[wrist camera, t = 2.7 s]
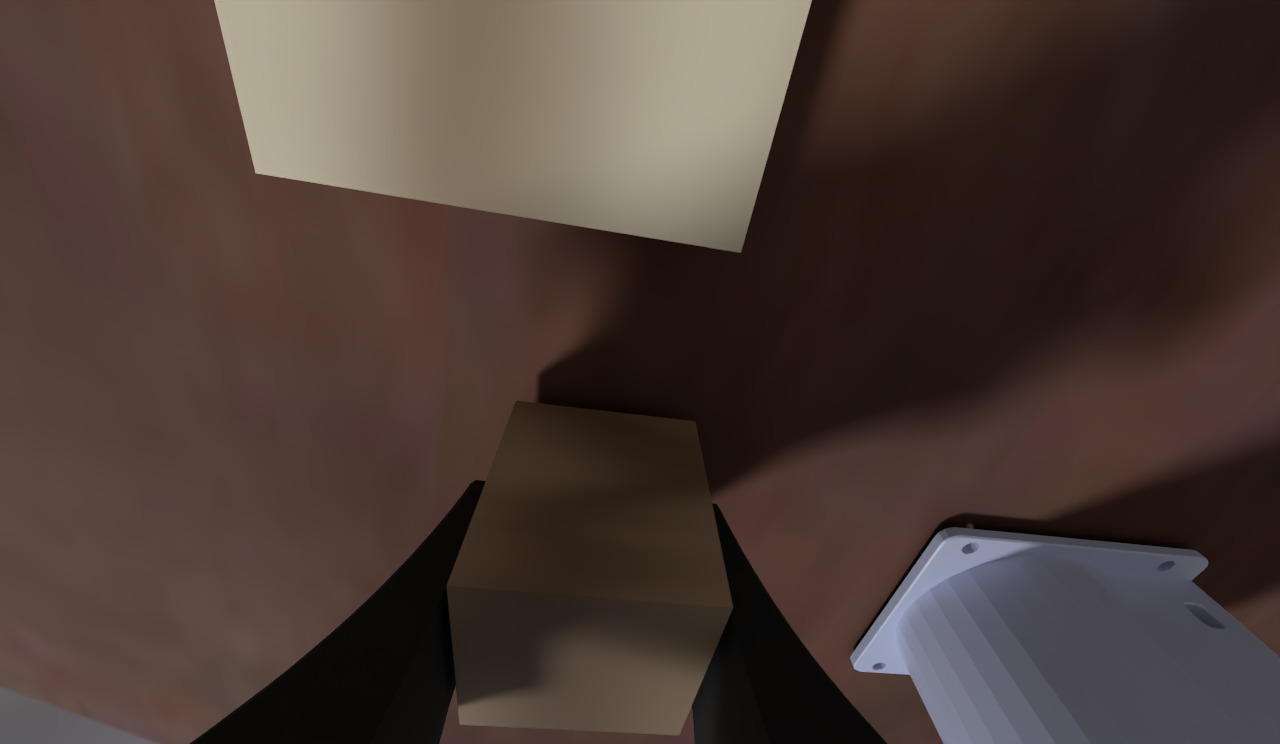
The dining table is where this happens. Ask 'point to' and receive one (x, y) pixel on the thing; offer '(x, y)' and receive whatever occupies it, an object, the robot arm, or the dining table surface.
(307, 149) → the maple base block
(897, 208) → the dining table surface
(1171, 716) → the robot arm
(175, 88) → the dining table surface
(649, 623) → the walnut block
